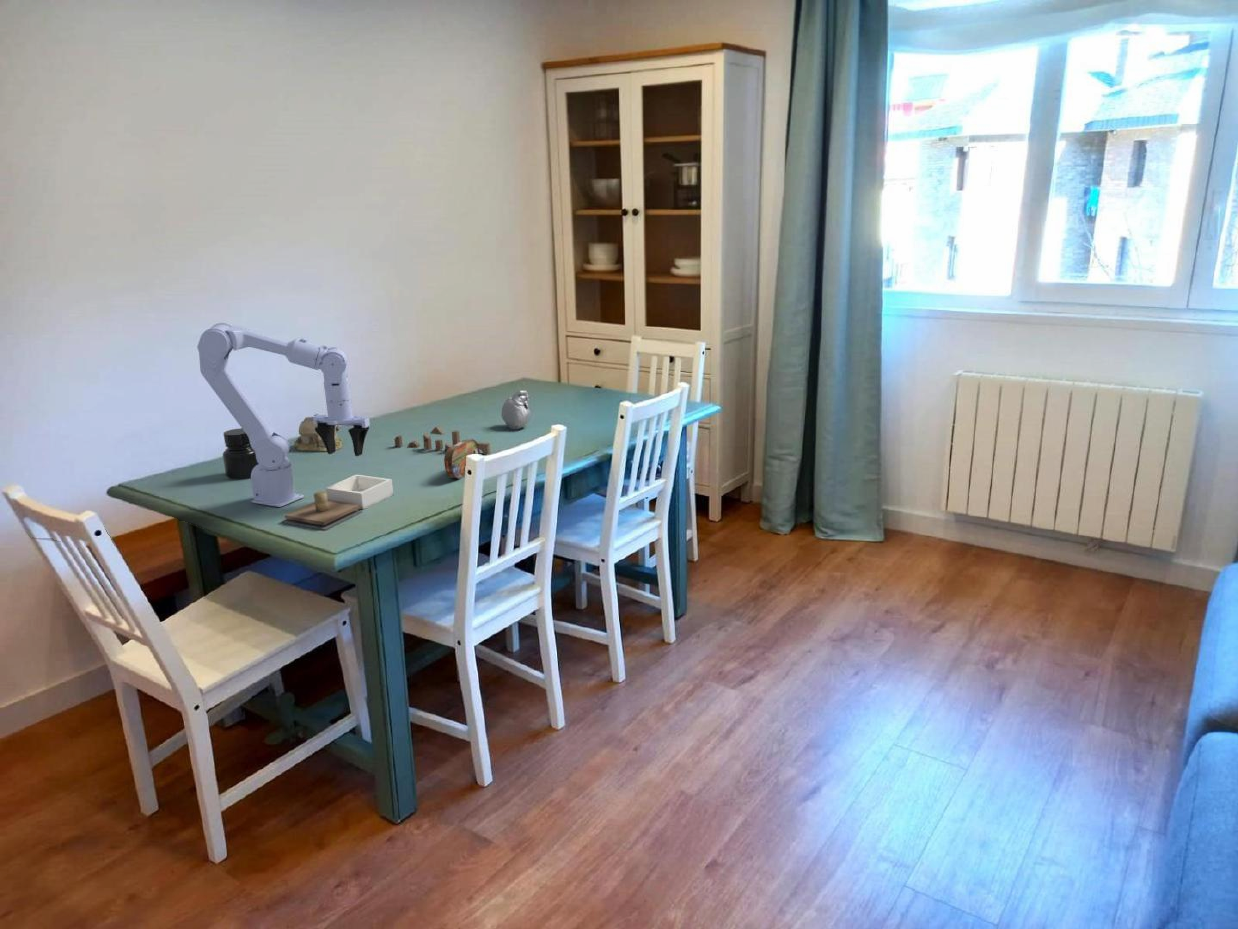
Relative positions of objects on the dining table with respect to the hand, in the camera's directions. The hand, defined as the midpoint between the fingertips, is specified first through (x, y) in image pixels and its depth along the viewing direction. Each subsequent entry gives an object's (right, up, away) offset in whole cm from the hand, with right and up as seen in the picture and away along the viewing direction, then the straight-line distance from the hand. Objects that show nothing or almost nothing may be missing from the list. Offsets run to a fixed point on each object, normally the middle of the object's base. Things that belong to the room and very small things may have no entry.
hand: (345, 454), depth 210 cm
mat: (-2, -15, -12) cm, 19 cm away
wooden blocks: (+16, +1, +39) cm, 42 cm away
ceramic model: (-22, +2, +44) cm, 49 cm away
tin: (+26, -5, +17) cm, 31 cm away
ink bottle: (-33, -5, +20) cm, 39 cm away
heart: (+35, +9, +60) cm, 70 cm away
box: (+4, -11, -1) cm, 12 cm away
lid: (-1, -14, -12) cm, 18 cm away
